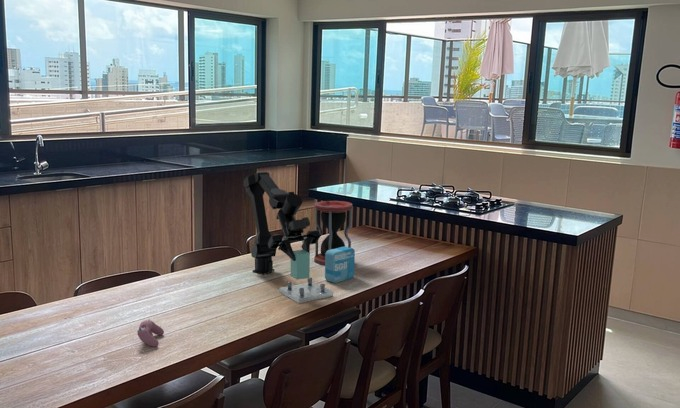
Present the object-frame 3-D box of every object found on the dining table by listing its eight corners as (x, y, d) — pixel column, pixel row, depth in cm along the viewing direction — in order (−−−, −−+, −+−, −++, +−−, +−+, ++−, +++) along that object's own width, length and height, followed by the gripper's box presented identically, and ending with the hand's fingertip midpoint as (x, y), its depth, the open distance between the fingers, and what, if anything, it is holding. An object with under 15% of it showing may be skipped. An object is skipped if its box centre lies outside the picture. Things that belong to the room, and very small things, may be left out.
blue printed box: (333, 283, 230) (333, 253, 228) (324, 281, 233) (324, 250, 231) (354, 277, 238) (355, 247, 236) (346, 274, 242) (346, 245, 239)
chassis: (279, 292, 219) (279, 281, 219) (312, 285, 227) (312, 275, 226) (298, 303, 208) (298, 291, 207) (332, 296, 216) (333, 285, 215)
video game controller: (151, 339, 180) (140, 319, 178) (165, 332, 180) (154, 312, 178) (144, 353, 170) (132, 332, 169) (159, 346, 170) (147, 325, 169)
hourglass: (354, 257, 268) (355, 201, 264) (348, 267, 252) (349, 208, 248) (318, 254, 271) (318, 199, 266) (310, 264, 255) (310, 206, 251)
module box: (290, 275, 216) (290, 251, 214) (303, 273, 218) (303, 249, 217) (296, 279, 212) (296, 254, 210) (309, 277, 214) (309, 252, 212)
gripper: (270, 212, 210) (284, 250, 202) (318, 207, 219) (333, 244, 211) (262, 229, 218) (274, 267, 210) (308, 225, 227) (322, 260, 220)
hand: (301, 259), depth 213 cm, fingers closed on module box, 5 cm apart
